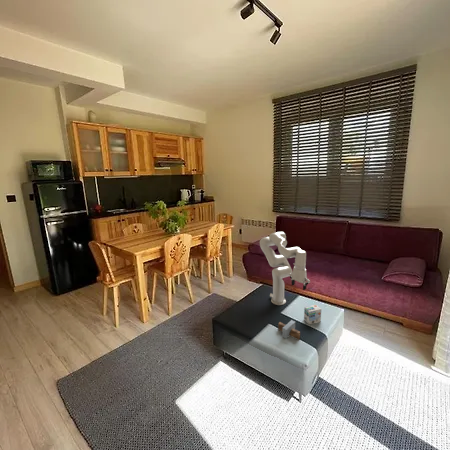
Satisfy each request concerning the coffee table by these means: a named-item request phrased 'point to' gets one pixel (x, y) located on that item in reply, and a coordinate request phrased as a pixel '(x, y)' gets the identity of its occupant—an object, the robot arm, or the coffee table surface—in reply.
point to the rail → (293, 332)
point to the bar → (288, 328)
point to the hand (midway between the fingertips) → (298, 287)
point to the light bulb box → (312, 314)
